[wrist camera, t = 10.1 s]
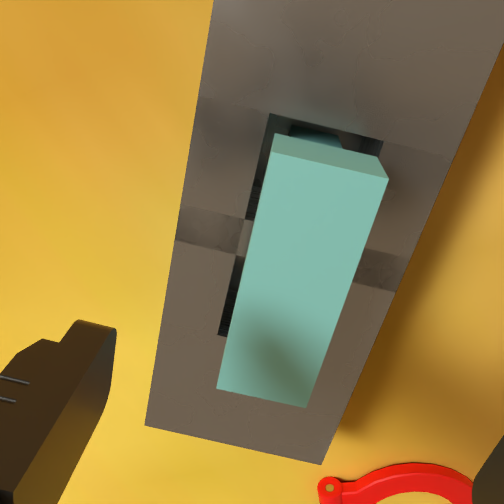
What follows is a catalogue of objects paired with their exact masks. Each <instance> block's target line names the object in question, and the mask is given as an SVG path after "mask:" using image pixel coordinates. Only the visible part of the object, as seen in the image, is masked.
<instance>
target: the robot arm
mask: <svg viewBox="0 0 504 504" xmlns="http://www.w3.org/2000/svg"><path fill="white" fill-rule="evenodd" d="M116 336H117V332H116V329H115V328H112V327H108V326H103V325H99V324H95V323H91V322H87V321H83V320H77V321H75V322H74V324H73V325H72V326H71V327H70V329H69V330H68V331H67V333H66V334H65V336H64V337H63V338H62V340H61V341H60V342H59V343H58V342H54V341H50V340H46V339H41V340H39V341H37V342H36V343H34V344H32V345H31V346H29V347H27V348H25V349H24V350H22V351H20V352H19V353H17V354H16V355H15V356H14V358H13V359H12V360H11V361H10V362H9V364H8V365H7V366H6V367H5V368H4V370H3V371H2V372H1V373H0V504H57V503H58V501H59V499H60V497H61V495H62V493H63V491H64V489H65V487H66V485H67V483H68V481H69V479H70V477H71V475H72V473H73V471H74V469H75V467H76V465H77V463H78V461H79V459H80V457H81V455H82V453H83V451H84V449H85V447H86V445H87V444H88V442H89V440H90V438H91V436H92V434H93V432H94V430H95V428H96V426H97V424H98V422H99V420H100V417H101V415H102V413H103V411H104V408H105V405H106V402H107V399H108V395H109V391H110V387H111V379H112V371H113V362H114V354H115V345H116ZM472 504H504V435H503V437H502V438H501V440H500V441H499V443H498V444H497V446H496V447H495V449H494V450H493V452H492V453H491V455H490V456H489V457H488V459H487V460H486V462H485V463H484V465H483V466H482V468H481V469H480V471H479V472H478V474H477V475H476V477H475V479H474V482H473V487H472Z"/></svg>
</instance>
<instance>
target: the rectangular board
mask: <svg viewBox="0 0 504 504" xmlns="http://www.w3.org/2000/svg"><path fill="white" fill-rule="evenodd" d="M503 43H504V0H214V2H213V8H212V15H211V21H210V27H209V33H208V39H207V45H206V51H205V57H204V64H203V70H202V76H201V82H200V88H199V94H198V100H197V106H196V113H195V119H194V125H193V131H192V137H191V143H190V149H189V155H188V162H187V168H186V174H185V180H184V186H183V192H182V198H181V204H180V211H179V217H178V223H177V229H176V235H175V241H174V247H173V254H172V260H171V266H170V272H169V278H168V284H167V290H166V296H165V303H164V309H163V315H162V321H161V327H160V333H159V339H158V345H157V352H156V358H155V364H154V370H153V376H152V382H151V388H150V394H149V401H148V407H147V413H146V419H145V426H149V427H154V428H158V429H163V430H167V431H172V432H176V433H180V434H185V435H189V436H194V437H198V438H203V439H207V440H211V441H216V442H220V443H225V444H229V445H234V446H238V447H243V448H247V449H251V450H256V451H260V452H265V453H269V454H274V455H278V456H282V457H287V458H291V459H296V460H300V461H305V462H309V463H313V464H318V465H321V464H322V462H323V460H324V458H325V455H326V453H327V451H328V448H329V446H330V444H331V441H332V439H333V437H334V434H335V432H336V430H337V427H338V425H339V423H340V420H341V418H342V416H343V414H344V411H345V409H346V407H347V404H348V402H349V400H350V397H351V395H352V393H353V390H354V388H355V386H356V383H357V381H358V379H359V376H360V374H361V372H362V370H363V367H364V365H365V363H366V360H367V358H368V356H369V353H370V351H371V349H372V346H373V344H374V342H375V339H376V337H377V335H378V333H379V330H380V328H381V326H382V323H383V321H384V319H385V316H386V314H387V312H388V309H389V307H390V305H391V302H392V300H393V298H394V295H395V293H396V291H397V289H398V286H399V284H400V282H401V279H402V277H403V275H404V272H405V270H406V268H407V265H408V263H409V261H410V258H411V256H412V254H413V251H414V249H415V247H416V245H417V242H418V240H419V238H420V235H421V233H422V231H423V228H424V226H425V224H426V221H427V219H428V217H429V214H430V212H431V210H432V207H433V205H434V203H435V201H436V198H437V196H438V194H439V191H440V189H441V187H442V184H443V182H444V180H445V177H446V175H447V173H448V170H449V168H450V166H451V164H452V161H453V159H454V157H455V154H456V152H457V150H458V147H459V145H460V143H461V140H462V138H463V136H464V133H465V131H466V129H467V126H468V124H469V122H470V120H471V117H472V115H473V113H474V110H475V108H476V106H477V103H478V101H479V99H480V96H481V94H482V92H483V89H484V87H485V85H486V82H487V80H488V78H489V76H490V73H491V71H492V69H493V66H494V64H495V62H496V59H497V57H498V55H499V52H500V50H501V48H502V45H503ZM291 125H295V126H300V127H304V128H308V129H313V130H317V131H321V132H325V133H330V134H334V135H338V136H339V139H340V142H341V145H342V148H343V149H345V150H350V151H354V152H358V153H363V154H367V155H371V156H376V157H377V158H378V160H379V161H380V163H381V165H382V167H383V169H384V171H385V173H386V174H387V176H388V178H389V180H388V183H387V186H386V189H385V191H384V194H383V197H382V200H381V202H380V205H379V208H378V211H377V214H376V216H375V219H374V222H373V225H372V227H371V230H370V233H369V236H368V238H367V241H366V244H365V247H364V249H363V252H362V255H361V258H360V261H359V263H358V266H357V269H356V272H355V274H354V277H353V280H352V283H351V285H350V288H349V291H348V294H347V296H346V299H345V302H344V305H343V308H342V310H341V313H340V316H339V319H338V321H337V324H336V327H335V330H334V332H333V335H332V338H331V341H330V343H329V346H328V349H327V352H326V355H325V357H324V360H323V363H322V366H321V368H320V371H319V374H318V377H317V379H316V382H315V385H314V388H313V390H312V393H311V396H310V399H309V402H308V404H307V407H306V408H303V407H298V406H293V405H289V404H284V403H280V402H275V401H271V400H266V399H262V398H257V397H252V396H248V395H243V394H239V393H234V392H230V391H225V390H221V389H216V387H217V382H218V377H219V373H220V368H221V363H222V358H223V354H224V349H225V345H226V340H227V336H228V332H229V328H230V323H231V319H232V315H233V310H234V306H235V302H236V298H237V293H238V289H239V285H240V280H241V276H242V272H243V268H244V263H245V259H246V255H247V250H248V246H249V242H250V237H251V233H252V229H253V225H254V220H255V216H256V212H257V207H258V203H259V199H260V195H261V190H262V186H263V182H264V177H265V173H266V169H267V165H268V160H269V156H270V152H271V147H272V143H273V139H274V135H275V133H277V134H281V135H285V136H289V133H290V129H291Z"/></svg>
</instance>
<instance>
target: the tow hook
mask: <svg viewBox="0 0 504 504" xmlns="http://www.w3.org/2000/svg"><path fill="white" fill-rule="evenodd" d="M472 487H473V483H472V482H471V481H470V480H469V479H468V478H467V477H466V476H464V475H462V474H460V473H458V472H456V471H454V470H452V469H450V468H446V467H442V466H438V465H434V464H419V463H409V464H401V465H393V466H389V467H386V468H383V469H379V470H376V471H373V472H371V473H369V474H368V475H366V476H364V477H362V478H360V479H358V480H357V481H356V482H345V483H340V481H339V480H338V479H336V478H334V477H325V478H323V479H322V480H320V482H319V483H318V486H317V489H318V495H319V501H320V504H376V503H377V502H379V501H381V500H382V499H384V498H386V497H389V496H392V495H395V494H399V493H405V492H413V491H416V492H429V493H433V494H437V495H440V496H442V497H444V498H446V499H448V500H449V501H450V502H451V503H453V504H472Z"/></svg>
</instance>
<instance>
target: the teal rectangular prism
mask: <svg viewBox="0 0 504 504" xmlns="http://www.w3.org/2000/svg"><path fill="white" fill-rule="evenodd" d="M388 180H389V178H388V176H387V174H386V173H385V171H384V169H383V167H382V165H381V163H380V161H379V160H378V158H377V157H376V156H371V155H367V154H363V153H358V152H354V151H350V150H345V149H343V148H342V145H341V142H340V139H339V136H338V135H334V134H330V133H325V132H321V131H317V130H313V129H308V128H304V127H300V126H295V125H291V129H290V133H289V136H285V135H281V134H277V133H275V135H274V139H273V143H272V147H271V152H270V156H269V160H268V165H267V169H266V173H265V177H264V182H263V186H262V190H261V195H260V199H259V203H258V207H257V212H256V216H255V220H254V225H253V229H252V233H251V237H250V242H249V246H248V250H247V255H246V259H245V263H244V268H243V272H242V276H241V280H240V285H239V289H238V293H237V298H236V302H235V306H234V310H233V315H232V319H231V323H230V328H229V332H228V336H227V340H226V345H225V349H224V354H223V358H222V363H221V368H220V373H219V377H218V382H217V387H216V389H221V390H225V391H230V392H234V393H239V394H243V395H248V396H252V397H257V398H262V399H266V400H271V401H275V402H280V403H284V404H289V405H293V406H298V407H303V408H306V407H307V404H308V402H309V399H310V396H311V393H312V390H313V388H314V385H315V382H316V379H317V377H318V374H319V371H320V368H321V366H322V363H323V360H324V357H325V355H326V352H327V349H328V346H329V343H330V341H331V338H332V335H333V332H334V330H335V327H336V324H337V321H338V319H339V316H340V313H341V310H342V308H343V305H344V302H345V299H346V296H347V294H348V291H349V288H350V285H351V283H352V280H353V277H354V274H355V272H356V269H357V266H358V263H359V261H360V258H361V255H362V252H363V249H364V247H365V244H366V241H367V238H368V236H369V233H370V230H371V227H372V225H373V222H374V219H375V216H376V214H377V211H378V208H379V205H380V202H381V200H382V197H383V194H384V191H385V189H386V186H387V183H388Z"/></svg>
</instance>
